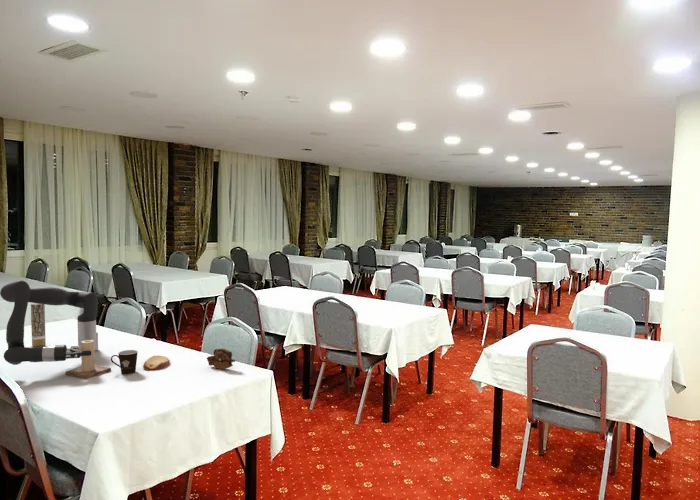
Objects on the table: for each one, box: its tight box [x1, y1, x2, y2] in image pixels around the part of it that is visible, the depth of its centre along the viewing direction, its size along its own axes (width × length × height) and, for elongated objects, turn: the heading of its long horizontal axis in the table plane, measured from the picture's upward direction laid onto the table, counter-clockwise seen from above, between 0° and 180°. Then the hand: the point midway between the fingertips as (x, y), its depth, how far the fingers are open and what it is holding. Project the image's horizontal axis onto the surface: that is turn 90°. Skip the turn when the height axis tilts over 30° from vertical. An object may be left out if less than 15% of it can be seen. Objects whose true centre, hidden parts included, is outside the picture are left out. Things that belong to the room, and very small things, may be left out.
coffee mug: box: [110, 349, 139, 375], centre depth 251 cm, size 12×9×10 cm
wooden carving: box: [206, 348, 236, 370], centre depth 258 cm, size 16×5×10 cm, turn 70°
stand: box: [65, 364, 112, 380], centre depth 249 cm, size 14×14×8 cm
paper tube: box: [30, 303, 47, 347], centre depth 299 cm, size 7×7×25 cm
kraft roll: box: [80, 340, 96, 372], centre depth 249 cm, size 5×5×14 cm
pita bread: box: [142, 355, 171, 372], centre depth 264 cm, size 18×18×4 cm
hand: (92, 350), depth 249 cm, fingers open, 8 cm apart
